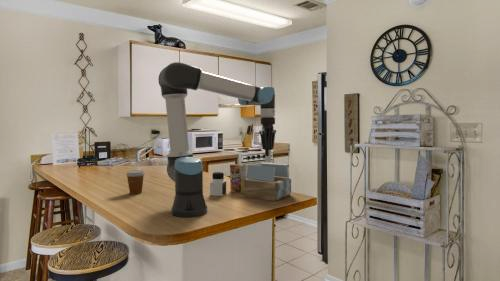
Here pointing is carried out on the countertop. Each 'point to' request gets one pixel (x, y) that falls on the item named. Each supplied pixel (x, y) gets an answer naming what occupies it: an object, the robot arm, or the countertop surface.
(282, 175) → the far flap
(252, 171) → the near flap
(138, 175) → the disposable coffee cup
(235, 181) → the candy box
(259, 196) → the carton
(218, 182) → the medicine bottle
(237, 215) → the countertop surface
